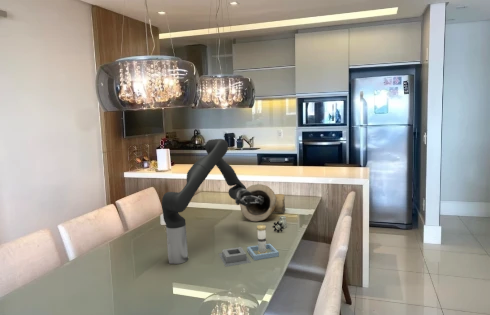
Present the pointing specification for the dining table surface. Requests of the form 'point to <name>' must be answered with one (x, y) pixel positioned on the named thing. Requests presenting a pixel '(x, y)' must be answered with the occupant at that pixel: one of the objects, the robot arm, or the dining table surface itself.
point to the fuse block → (234, 256)
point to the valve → (280, 224)
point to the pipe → (267, 207)
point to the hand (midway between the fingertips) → (253, 203)
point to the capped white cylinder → (261, 239)
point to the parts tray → (264, 255)
